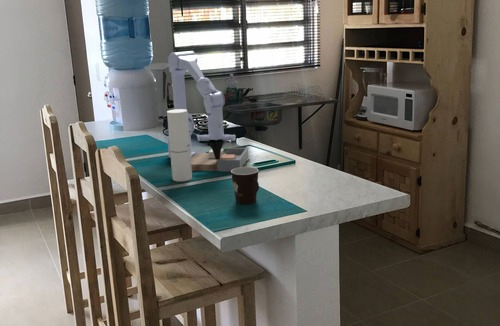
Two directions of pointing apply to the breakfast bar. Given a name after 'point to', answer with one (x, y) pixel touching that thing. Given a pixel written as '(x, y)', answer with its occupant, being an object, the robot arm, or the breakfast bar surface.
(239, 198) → the coffee mug
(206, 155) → the walnut board
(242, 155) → the box
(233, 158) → the terracotta tile
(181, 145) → the cylindrical container
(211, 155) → the cream tile
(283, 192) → the breakfast bar surface
